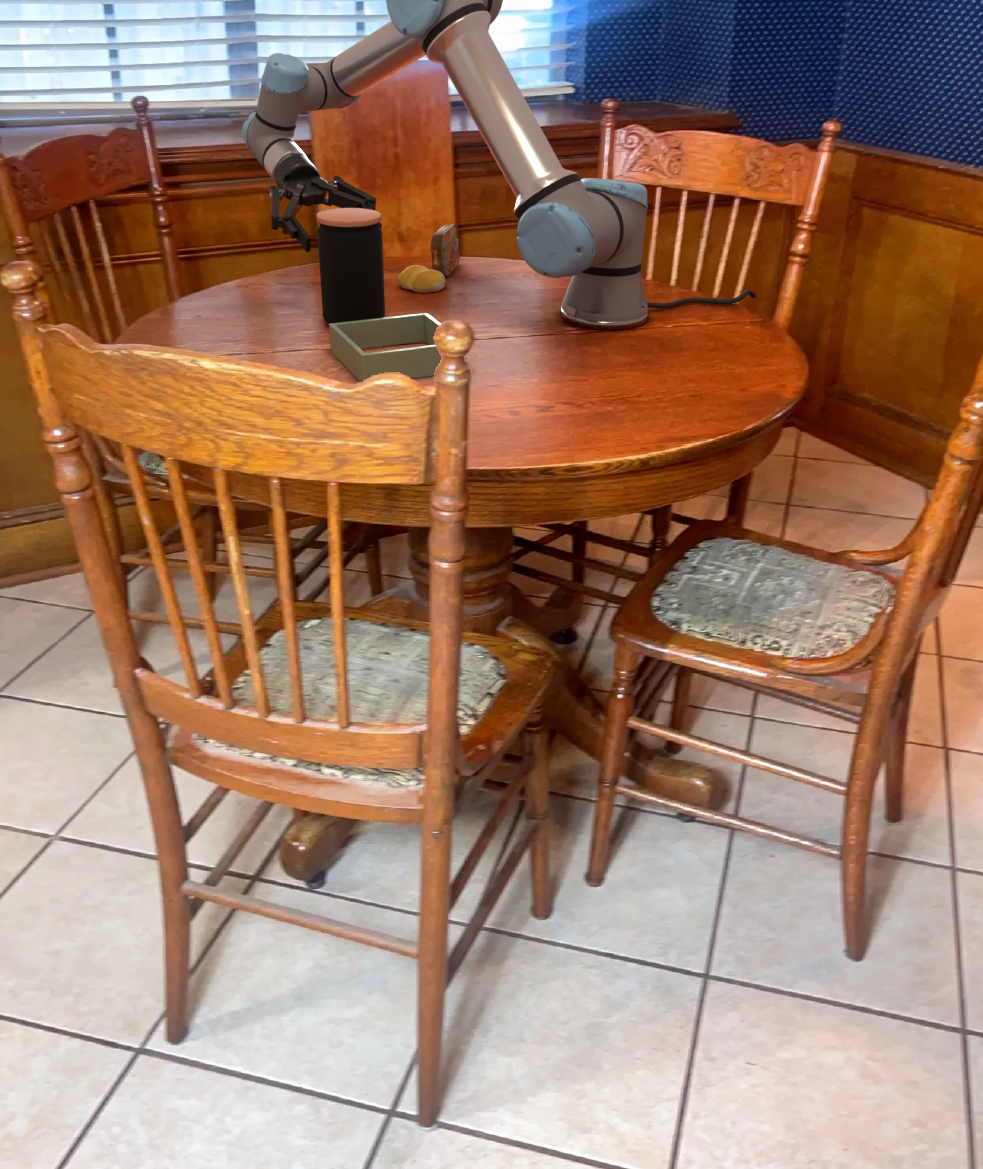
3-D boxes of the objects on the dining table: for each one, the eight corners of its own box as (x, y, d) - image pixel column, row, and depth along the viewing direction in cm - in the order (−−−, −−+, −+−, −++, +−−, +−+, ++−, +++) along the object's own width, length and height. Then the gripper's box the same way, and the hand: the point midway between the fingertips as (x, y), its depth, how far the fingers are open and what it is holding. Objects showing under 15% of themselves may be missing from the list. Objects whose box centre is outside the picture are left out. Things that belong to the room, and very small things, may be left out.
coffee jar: (397, 320, 180) (394, 213, 171) (359, 336, 173) (353, 224, 163) (350, 310, 185) (344, 205, 176) (310, 324, 178) (302, 215, 168)
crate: (427, 339, 172) (427, 312, 169) (466, 371, 159) (467, 342, 156) (330, 351, 166) (328, 323, 163) (363, 385, 153) (362, 355, 150)
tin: (444, 280, 203) (443, 236, 199) (428, 279, 204) (428, 235, 200) (461, 262, 216) (461, 220, 212) (446, 261, 217) (446, 219, 212)
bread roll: (426, 296, 194) (426, 274, 192) (391, 287, 199) (391, 266, 197) (455, 287, 199) (455, 266, 197) (420, 279, 204) (420, 258, 202)
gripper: (352, 180, 198) (405, 244, 189) (228, 201, 187) (277, 270, 178) (355, 144, 193) (409, 207, 183) (227, 162, 182) (278, 231, 172)
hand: (344, 238), depth 180 cm, fingers open, 13 cm apart
